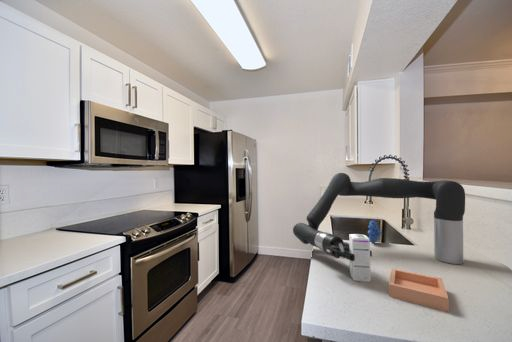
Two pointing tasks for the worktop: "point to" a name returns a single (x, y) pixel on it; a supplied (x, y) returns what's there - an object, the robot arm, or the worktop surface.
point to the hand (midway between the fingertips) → (362, 256)
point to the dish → (418, 289)
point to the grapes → (373, 231)
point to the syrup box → (360, 257)
